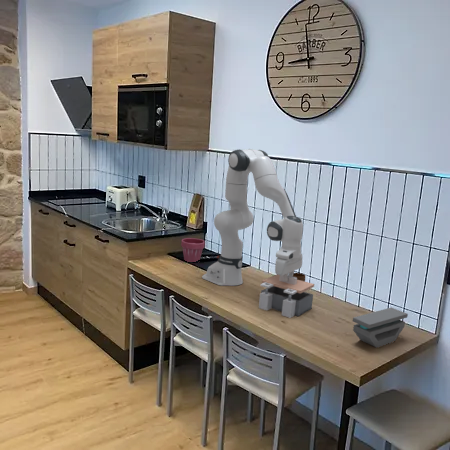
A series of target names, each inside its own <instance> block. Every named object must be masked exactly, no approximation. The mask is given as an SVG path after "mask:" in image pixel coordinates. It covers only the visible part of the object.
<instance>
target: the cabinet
mask: <svg viewBox="0 0 450 450" xmlns="http://www.w3.org/2000/svg"><path fill="white" fill-rule="evenodd" d="M284 290H286V289H282V288H279V287H275V286H273V287H270V288H266V287H265V288H264V289H262V290H260V293H259V301H258V302H259V303H258V308H259V309H260V310H263V311H269V310H272V309H273V310H275V311H278V312H281V316H283V317H286V318H290V319H291V318H293V317H294V316H295V317H300V316H301V315H304V314H305V313H307V312H308V311H310V310H312V308H313V299H314V294H313V293H310V292H306V291H305V292H303V293H295V294H293V295H291V294H288V293H284ZM290 292H291V291H290Z"/></svg>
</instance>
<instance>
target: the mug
mask: <svg viewBox="0 0 450 450" xmlns="http://www.w3.org/2000/svg"><path fill="white" fill-rule="evenodd" d="M292 277H296V278H297V280H301V281H304V282H306V274H304V273H302V272H294V274H293V276H292Z"/></svg>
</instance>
